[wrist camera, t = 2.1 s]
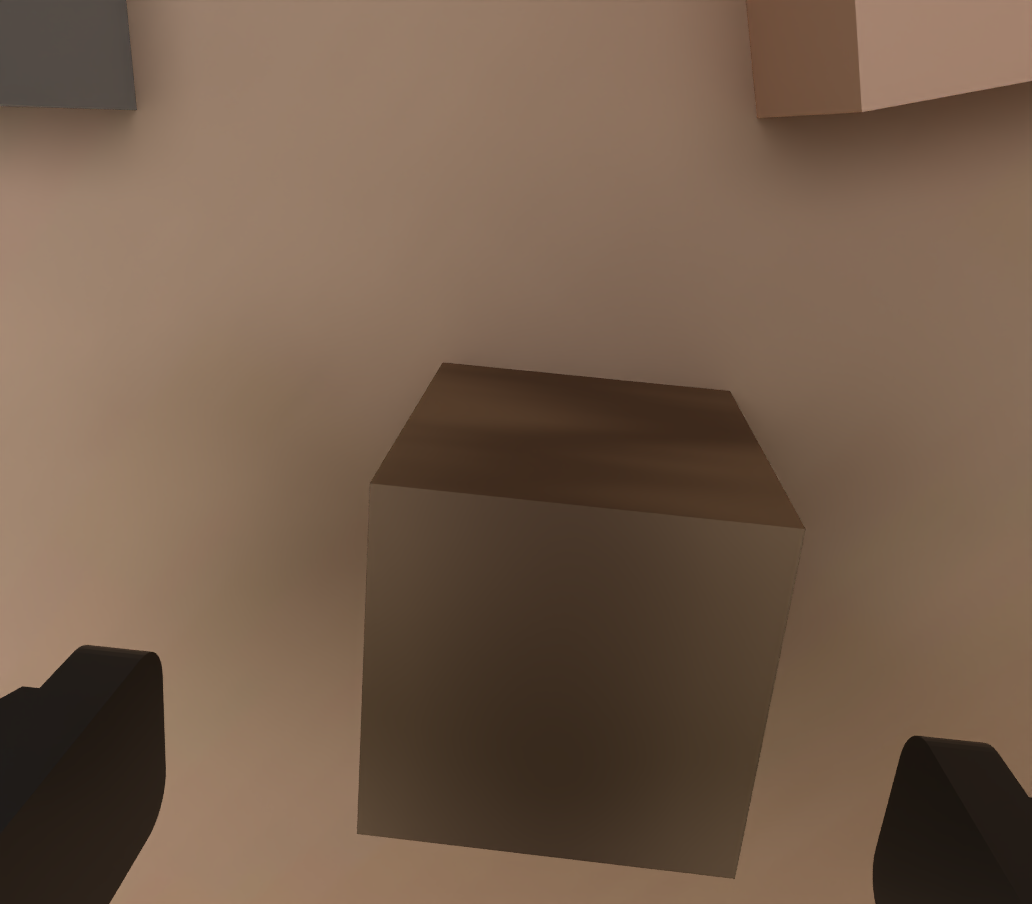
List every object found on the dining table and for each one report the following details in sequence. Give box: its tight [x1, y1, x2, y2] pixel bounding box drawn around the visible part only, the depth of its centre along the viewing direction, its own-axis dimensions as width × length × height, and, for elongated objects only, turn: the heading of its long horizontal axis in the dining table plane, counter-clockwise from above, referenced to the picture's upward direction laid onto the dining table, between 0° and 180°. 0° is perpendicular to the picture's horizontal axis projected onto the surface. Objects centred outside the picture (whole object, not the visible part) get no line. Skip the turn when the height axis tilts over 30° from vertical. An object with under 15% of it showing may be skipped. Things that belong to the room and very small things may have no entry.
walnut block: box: [357, 363, 805, 879], centre depth 15 cm, size 5×5×6 cm
